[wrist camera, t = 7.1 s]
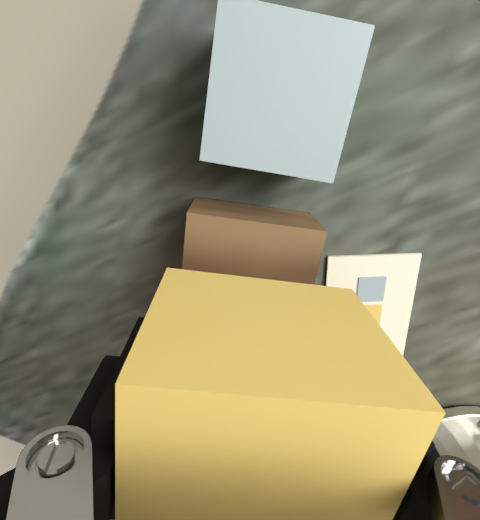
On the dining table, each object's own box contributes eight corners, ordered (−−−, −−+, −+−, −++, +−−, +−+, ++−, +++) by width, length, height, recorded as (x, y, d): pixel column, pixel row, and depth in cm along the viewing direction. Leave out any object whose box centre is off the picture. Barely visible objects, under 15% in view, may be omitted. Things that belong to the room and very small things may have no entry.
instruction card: (399, 365, 24) (401, 368, 24) (319, 368, 24) (320, 371, 24) (420, 252, 21) (422, 254, 21) (327, 255, 21) (328, 257, 21)
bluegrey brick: (308, 170, 19) (332, 183, 15) (207, 153, 19) (199, 160, 14) (336, 54, 17) (375, 25, 12) (223, 31, 17) (219, -8, 12)
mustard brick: (351, 289, 11) (445, 412, 6) (311, 424, 13) (357, 589, 8) (166, 267, 10) (115, 384, 6) (157, 411, 12) (115, 580, 8)
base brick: (287, 311, 23) (298, 347, 19) (185, 299, 22) (176, 334, 18) (309, 212, 20) (327, 231, 16) (195, 196, 20) (186, 212, 16)
